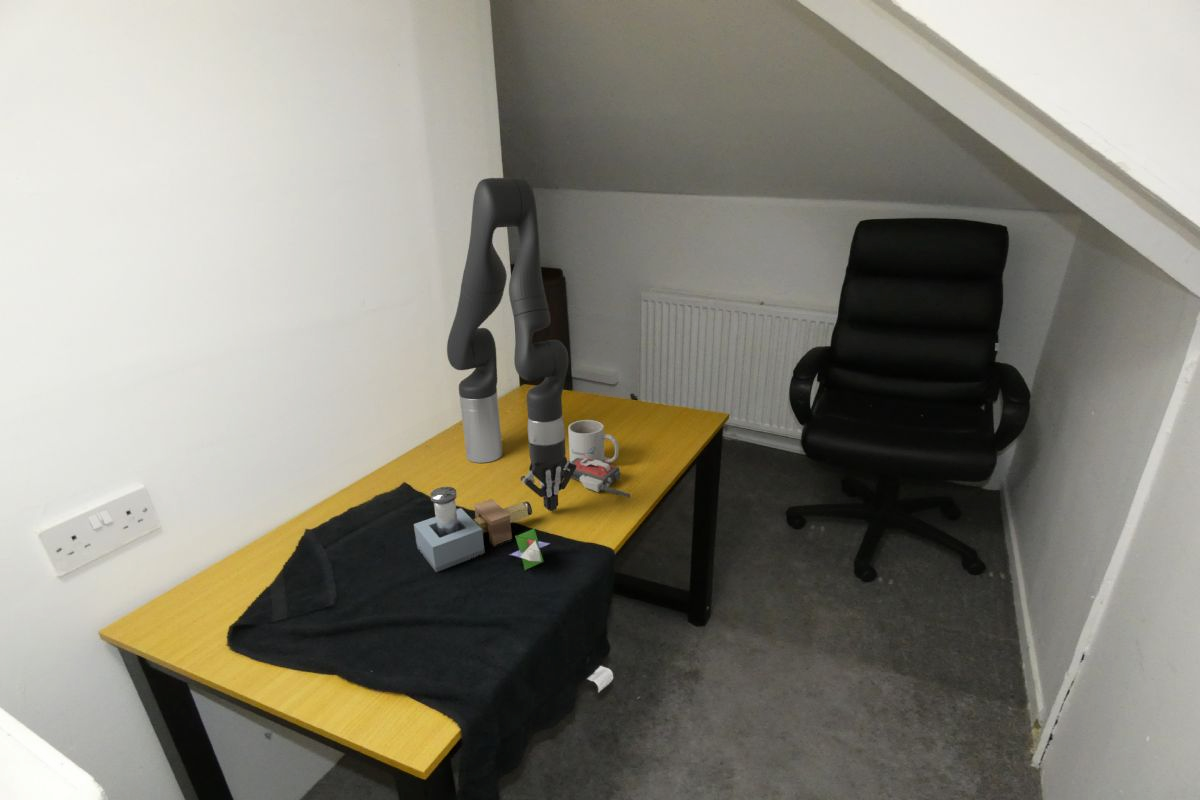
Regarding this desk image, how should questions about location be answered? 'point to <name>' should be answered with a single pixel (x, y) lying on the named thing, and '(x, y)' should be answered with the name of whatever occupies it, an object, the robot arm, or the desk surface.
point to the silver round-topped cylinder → (445, 510)
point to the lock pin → (514, 511)
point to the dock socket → (449, 542)
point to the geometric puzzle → (529, 549)
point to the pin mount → (495, 521)
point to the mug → (589, 441)
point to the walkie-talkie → (597, 475)
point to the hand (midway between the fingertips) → (551, 509)
